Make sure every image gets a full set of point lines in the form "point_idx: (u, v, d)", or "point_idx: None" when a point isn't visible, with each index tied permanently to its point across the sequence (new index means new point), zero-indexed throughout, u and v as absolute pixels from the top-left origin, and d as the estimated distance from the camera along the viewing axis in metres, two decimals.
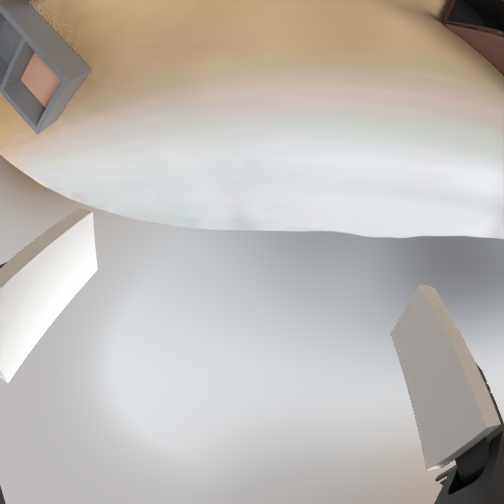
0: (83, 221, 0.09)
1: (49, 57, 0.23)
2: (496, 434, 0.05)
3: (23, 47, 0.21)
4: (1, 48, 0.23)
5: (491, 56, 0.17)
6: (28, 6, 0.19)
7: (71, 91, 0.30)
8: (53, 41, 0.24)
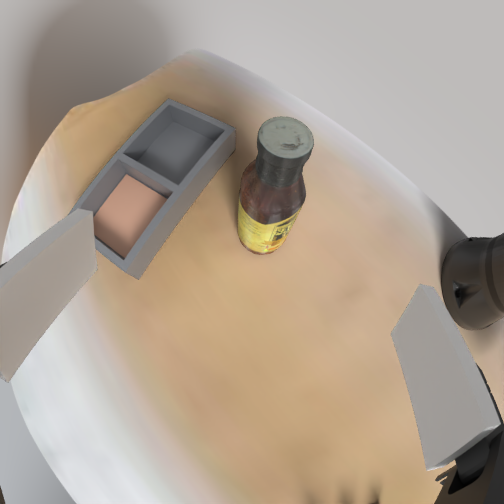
0: (83, 221, 0.09)
1: (151, 235, 0.32)
2: (496, 434, 0.05)
3: (165, 187, 0.34)
4: (169, 135, 0.40)
5: None
6: (216, 169, 0.40)
7: None
8: (169, 225, 0.36)
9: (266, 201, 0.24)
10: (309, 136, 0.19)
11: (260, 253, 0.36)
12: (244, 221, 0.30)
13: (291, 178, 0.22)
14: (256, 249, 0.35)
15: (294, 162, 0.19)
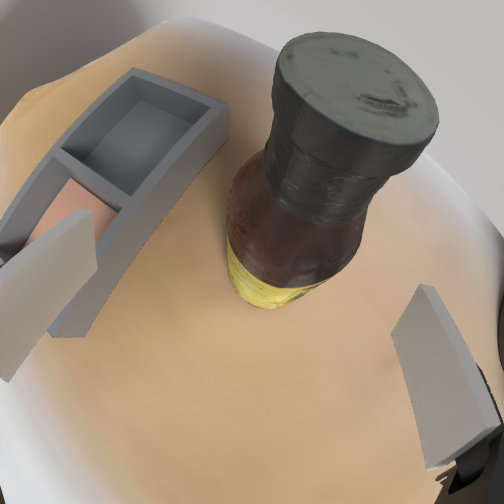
0: (83, 221, 0.09)
1: None
2: (496, 434, 0.05)
3: (112, 200, 0.20)
4: (132, 120, 0.26)
5: None
6: (198, 169, 0.25)
7: None
8: (121, 259, 0.22)
9: (287, 251, 0.10)
10: (424, 89, 0.05)
11: None
12: (237, 271, 0.16)
13: (361, 201, 0.08)
14: (258, 305, 0.21)
15: (398, 159, 0.05)
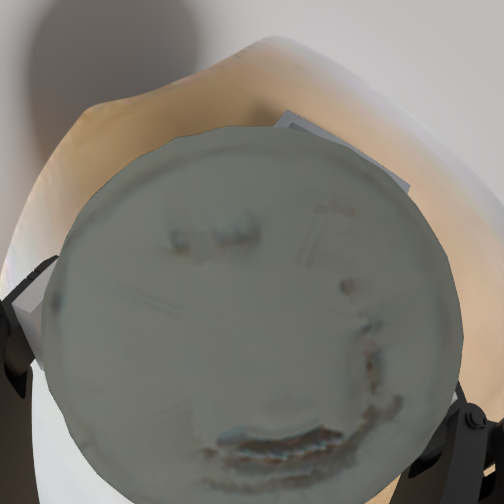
0: None
1: None
2: (454, 412, 0.05)
3: None
4: None
5: None
6: None
7: None
8: None
9: None
10: (446, 312, 0.02)
11: None
12: None
13: None
14: None
15: None
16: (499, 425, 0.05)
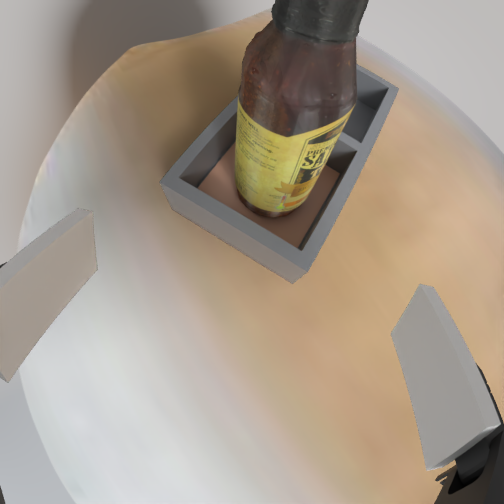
0: (83, 221, 0.09)
1: (340, 211, 0.20)
2: (496, 434, 0.05)
3: (341, 144, 0.22)
4: None
5: None
6: None
7: (253, 253, 0.22)
8: None
9: (293, 74, 0.10)
10: None
11: (270, 215, 0.23)
12: (247, 143, 0.16)
13: (346, 22, 0.08)
14: (265, 205, 0.21)
15: None
16: None
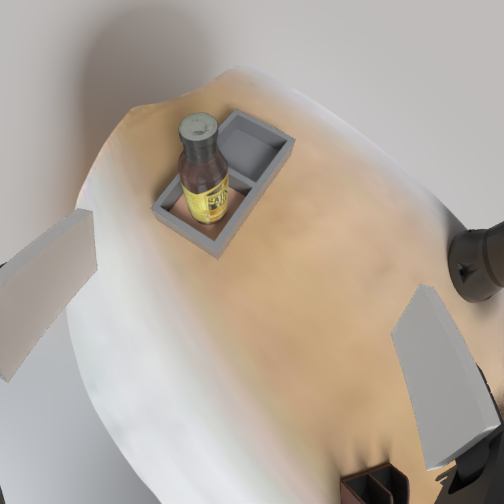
0: (83, 221, 0.09)
1: (237, 221, 0.42)
2: (496, 434, 0.05)
3: (245, 184, 0.44)
4: (235, 140, 0.50)
5: None
6: (278, 171, 0.49)
7: (196, 243, 0.44)
8: (246, 214, 0.45)
9: (192, 174, 0.32)
10: (214, 124, 0.27)
11: (205, 223, 0.44)
12: (185, 194, 0.37)
13: (206, 155, 0.30)
14: (200, 219, 0.42)
15: (201, 143, 0.27)
16: None
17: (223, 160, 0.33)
